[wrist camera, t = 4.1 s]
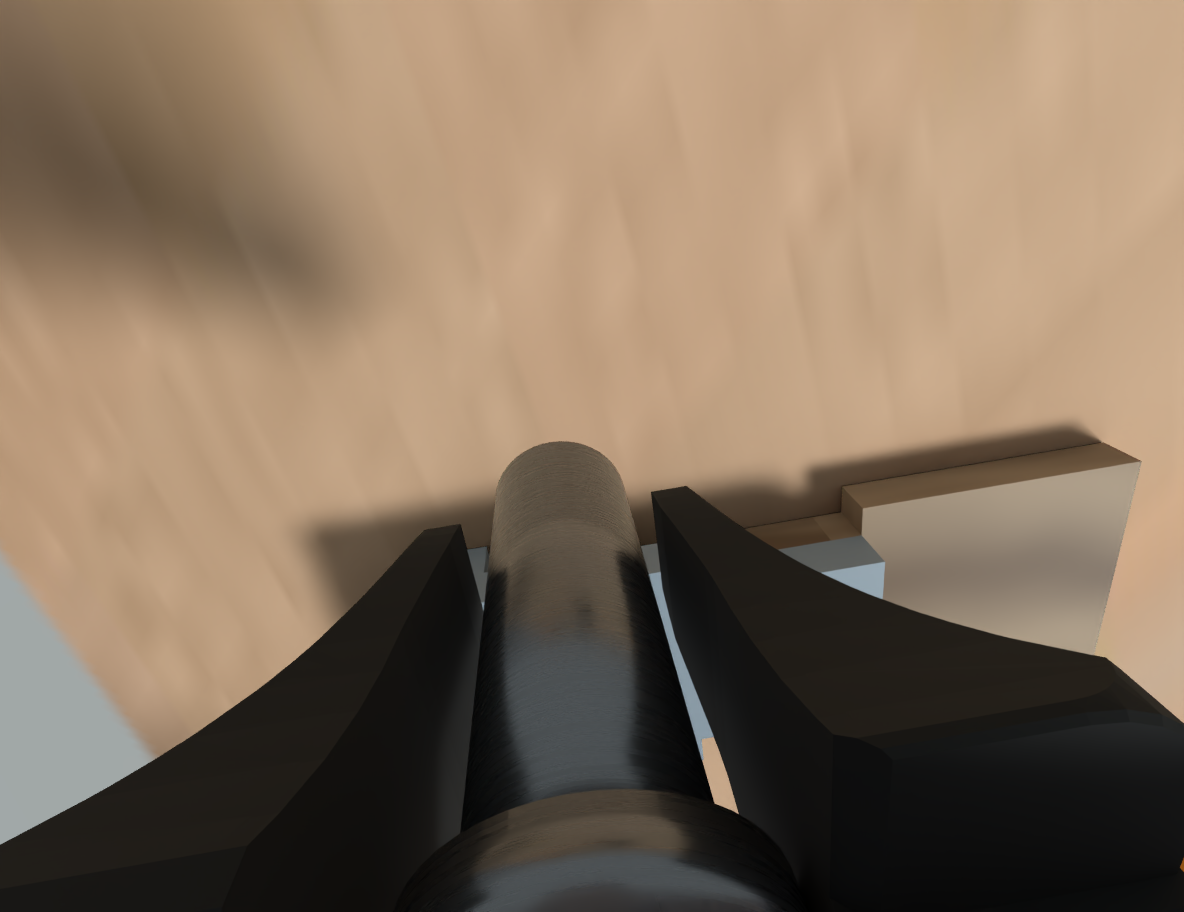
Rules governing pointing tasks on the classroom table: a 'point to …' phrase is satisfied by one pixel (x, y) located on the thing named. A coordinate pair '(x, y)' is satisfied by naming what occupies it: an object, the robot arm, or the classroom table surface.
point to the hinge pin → (585, 728)
